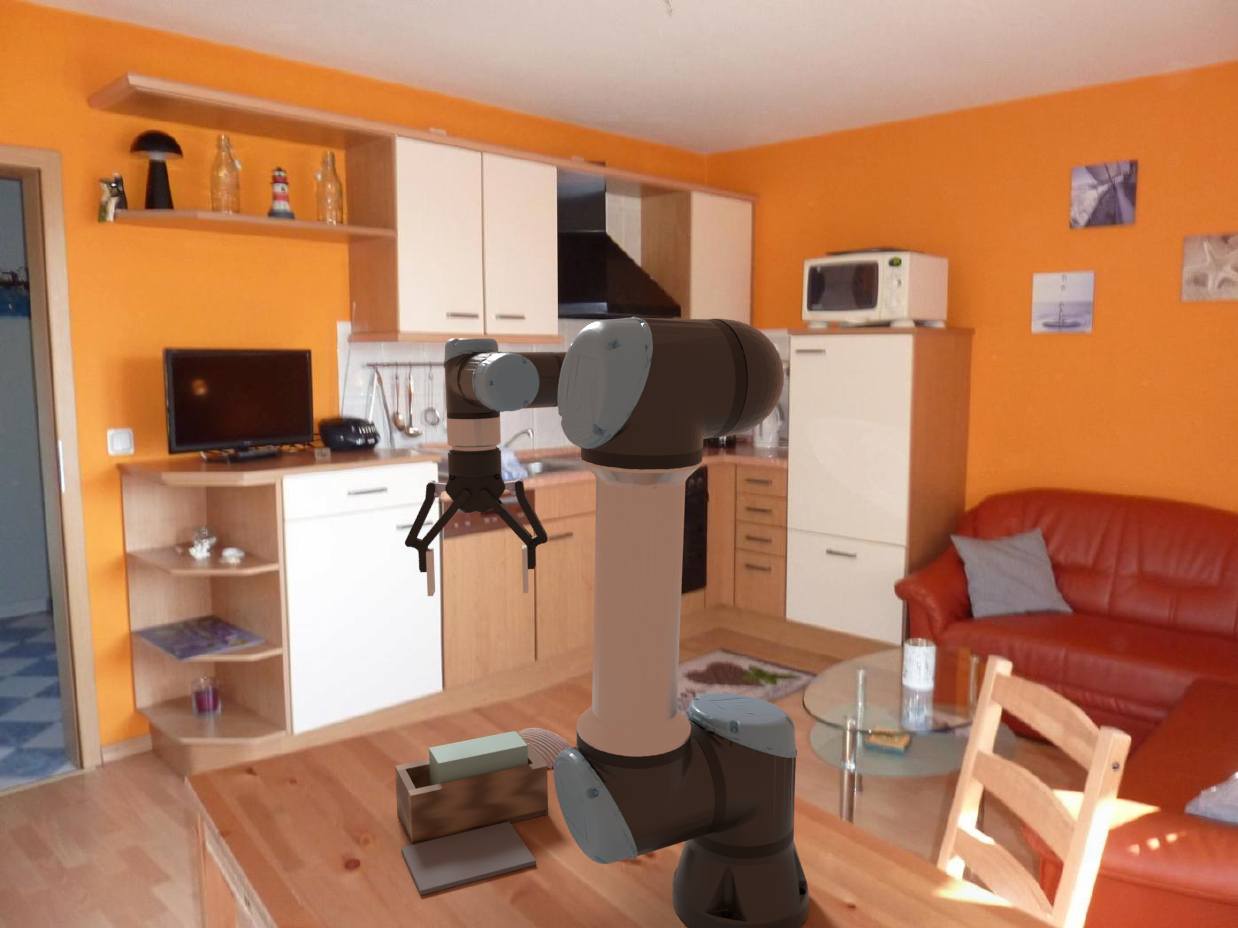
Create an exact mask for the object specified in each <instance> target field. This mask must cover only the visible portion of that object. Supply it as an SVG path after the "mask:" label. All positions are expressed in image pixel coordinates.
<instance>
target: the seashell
mask: <svg viewBox="0 0 1238 928" xmlns="http://www.w3.org/2000/svg"><path fill="white" fill-rule="evenodd" d="M516 732H517V734H518V735H519V736H520V737H521V738H522V739H523V740H525V741H526V742H527V743H528V745H529V746H530V747H531V748H532V749H533V750H534V751H535V753H536V754H537V755H538V756H539V757H540V758H541V759H542V761H543V762H544V763H545V764H546V765H547V770H548V769H549V770H552V768H553V769H554V763H555V759H556V757H557V755H558V754H559V752H561V751H563V750H565V748H566V747H573V745H571V743H570V742H568V740H567V739H565V738H564V737H562V736H561V735H559V734H557V733H555V732H553V731H551V730H548V729H544V728H541V727H530V728H523V729H521V730H519V731H516Z"/></svg>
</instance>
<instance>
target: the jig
mask: <svg viewBox="0 0 1238 928" xmlns="http://www.w3.org/2000/svg"><path fill="white" fill-rule="evenodd" d="M523 741H524V742H525V743H526V744H527V746H528V765H524V766H520V767H515V768H510V769H506V770H501V771H496V772H492V773H487V774H482V775H478V776H473V777H468V778H464V779H459V780H455V781H450V782H445V783H441V784H436V785H431V784H430V765H429V758H426V759H423V760H422V759H421V760H417V761H413V762H408V763H403V764H398V765H394V769H395V770H394V771H395V772H394V773H395V789H396V790H395V791H396V795H395V796H396V813H397V816H398V819H399V821H400V823H401V826H402V827H403V829H404V832H405V834H406V836H407V838H408V840H409V842H410V844H411V845H413V844H418V843H422V842H426V841H430V840H434V839H438V838H443V837H447V836H451V835H455V834H459V833H463V832H468V831H472V830H476V829H480V828H484V827H488V826H493V825H497V824H501V823H505V822H510V823H511V824H514V823H517V822H518V823H519V822H521V821H522V822H523V821H526V820H530V819H535V818H537V817H543V816H546V815H549V798H548V797H549V791H548V789H549V788H548V787H549V786H548V781H549V780H548V769H547V765H546V764H545V763H544V762H543V761H542V759H541V758H540V757H539V756H538V755H537V754H536V753H535V751H534V750H533V749H532V748H531V747H530V746H529V745H528V743H527V742H526V741H525V740H523Z"/></svg>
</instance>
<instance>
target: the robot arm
mask: <svg viewBox="0 0 1238 928" xmlns="http://www.w3.org/2000/svg"><path fill="white" fill-rule="evenodd" d="M498 345H499V344H498V342H497V341H496V339H494V338H487V337H485V338H484V337H482V338H481V337H478V338H475V337H472V338H471V337H470V338H465V337H464V338H450V339H448V340H447V341H446V342H445V345H444V361H443V368H444V382H445V404H446V405H445V406H446V407H445V408H446V409H445V410H446V437H447V445H448V446H449V447H451V448H450V449H448V451H447V466H448V467H447V468H448V478H447V479H448V480H447V482H446V483H445V482H437V481H436V480H429V482H428V483H427V484H426V487H425V498H424V500H423V503H422V505H421V507H420V509H419V510H418V513H417V515H416V518H415V519H414V522H413V524H412V525H411V528H410V530H409V532H408V535H407V537H406V539H405V541H404V545H405V546H406V547H407V548H413V549H415V550H416V551H417V552H418V553H417V555H418V569H419V572H420V573H426V588H427V590H426V591H427V597H433V596H434V595H435V592H436V579H435V578H436V577H435V575H436V574H435V550H434V549H435V548H434V547H430V545H431V544H432V542H433V541H434V540H435V539H436V537H437V536H438V535H440V532H442V530H443V529H444V528H445V526H446V525H447V524H448V523H449V522H450V521H451V519H452V518H453V517H454V516H455V515H456V514H457V512H458V511H462V512H464V514H471V513H474V512H478V513H487V512H490V511H491V510H493V511H494V512H495V514H496V515H497V516H499V517H500V518H501V519H502V521H503V522H504V523H506V525H507V526H508V527H509V528H510V529H511V530H512V531H513V533H514V534H515V535H516V536H517V537H518V538H519V539H520V540H521V541H522V542H523V543H524V545H521V547H522V548H521V567H522V568H521V569H522V571H521V573H522V594H529V587H530V586H529V570H535V568H536V566H537V565H536V564H537V563H536V562H537V559H536V557H537V556H536V549H537V547H538V546H539V545H542V544H546V543H547V542H548V533H547V532H546V530H545V527H544V526H543V524H542V522H541V520H540V518H539V516H538V514H537V513H536V511H535V509H534V507H533V506H532V504H531V501H530V500H529V498H528V496H527V494H526V491H525V490H526V489H525V483H524V480H523V478H517V479H516V480H511V481H504V479H503V475H502V474H503V472H502V469H503V468H502V450H501V449H500V448H499V447H498V445H500V444H501V442H502V440H501V439H502V437H501V436H502V435H501V413H504V412H515V411H520V410H522V409H523V410H524V409H526V410H527V409H540V408H541V409H542V408H544V409H545V408H556V407H557V411H558V415H559V416H560V417H561V420H560V426H561V428H562V432H563V433H564V435H565V437H566V438H567V440H568V441H569V442H570V443H571V444H572V445H575V446H577V447H579V448H580V462H582V464H583V465H584V466H585V467H586V468H587V469H588V470H589V471H590V472H591V473H592V474H593V476H594V477H595V485H596V486H595V488H596V489H595V523H594V524H595V525H594V529H595V531H594V533H595V534H594V535H595V537H594V575H593V576H594V579H593V580H594V585H593V587H594V588H593V593H594V595H593V631H592V632H593V634H592V635H593V638H592V640H593V641H592V686H591V687H592V689H591V691H592V692H591V693H592V696H591V699H592V700H591V705H590V706H589V707H587V708H586V710H584V711H583V713H582V714H580V715H579V717H578V718H577V721H576V722H577V723H576V741H575V742H576V745H575V746H574V747H573V746H572V747H566V748H565V750H563V751H561V752H559V754H558V755H557V757H556V759H555V763H554V768H553V778H554V779H553V781H554V787H555V792H556V793H555V794H556V797H557V799H558V800H557V801H558V804H559V808H560V811H561V813H562V816H563V819H564V821H565V823H566V827H567V828H568V830H569V833H570V835H571V837H572V838H573V840H574V842H575V843H576V845H577V847H578V848H579V849H580V850H581V852H582V853H583V854H584V855H585V856H586V857H587V858H588V859H590V860H591V861H592V862H595V863H597V864H600V865H610V864H613V863H617V862H621V861H625V860H631V861H634V860H636V859H637V858H638V857H640V856H643V855H645V854H649V853H652V852H655V851H659V850H661V849H664V848H665V849H666V848H668V847H671V846H675V845H678V844H681V843H684V845H683V847H682V850H681V855H680V856H679V861H678V864H677V867H676V869H675V870H674V873H673V877H672V886H671V887H672V888H671V889H672V890H671V891H672V895H671V896H672V905H673V908H674V911H675V912H676V914H677V916H678V917H679V919H680V920H681V921H682V922H683V923H685V924H686V925H687V926H688V927H689V928H801V927H802V926H803V924H804V923H805V922H806V920H807V918H808V915H809V901H810V899H809V895H810V891H809V885H808V882H807V878H806V875H805V872H804V869H803V866H802V863H801V860H800V856H799V853H798V850H797V847H796V844H795V841H794V838H795V837H794V836H795V795H796V794H795V793H796V791H795V790H796V767H797V765H796V764H797V757H798V749H797V746H796V729H795V724H794V721H793V719H792V717H790V715H789V714H788V713H787V712H786V711H785V710H784V709H782V708H781V707H779V706H778V705H775V704H773V703H771V702H769V701H766V700H763V699H760V698H759V697H758V698H756V697H755V696H754V697H753V696H749V695H744V694H738V693H728V692H727V693H726V692H713V693H704V694H701V695H698V696H696V697H694V698H693V699H692V700H691V701H690V703H689V704H688V708H687V709H686V714H687V716H686V715H685V714H684V713H683V712H682V711H681V710H679V708H678V691H679V689H678V688H679V663H680V636H681V635H680V634H681V610H682V608H681V607H682V606H681V605H682V584H683V581H682V579H683V560H684V559H683V554H684V530H685V506H686V505H685V502H686V499H685V498H686V482H687V480H688V478H689V477H690V476H691V475H692V474H693V473H695V471H697V470H698V469H699V468H700V467H701V466H702V464H703V447H704V440H705V439H717V438H726V437H731V436H732V437H733V436H736V435H739V434H742V433H746V432H748V431H750V430H751V429H754V428H756V427H758V426H759V425H760V424H762V423H763V421H765V420H766V419H767V418H768V417H769V416H770V415H771V414H772V413H773V412H774V409H775V408H776V406H778V403H779V401H780V398H781V397H782V392H783V389H784V382H785V381H784V379H785V371H784V367H783V361H782V358H781V356H780V353H779V350H778V349H777V347H776V346H775V344H774V343H773V341H771V340H770V339H769V337H768V336H766V335H765V334H764V333H763V332H762V331H761V330H759V329H758V328H756V327H754V326H752V325H751V324H747V323H745V322H742V321H740V320H734V319H728V318H707V319H706V318H705V319H704V318H652V317H651V318H650V317H648V318H647V317H646V318H645V317H637V316H632V317H623V318H613V319H611V318H610V319H601V320H597V321H593V322H592V323H590V324H588V325H587V326H585V327H583V328H582V330H580V331H579V332H578V334H576V335H575V337H574V339H573V340H572V343H571V344H570V345H569V347H568V348H567V351H515V352H514V351H499V346H498ZM505 491H509V493H510V495H511V496H513V497H516V499H517V502H518V504H519V506H520V507H521V510H522V511H523V514H524V516H525V517H526V519H527V521H528V522H529V525H530V526H531V528H532V530H533V532H534V534H535V535H532V533H531V532H530V531H529V530H528V529H527V528H526V527H525V526H524V525H523V524H522V522H520V520H519V519H518V518H517V517H516V516H515V515H514V514H513V512H511V511H510V509H509V508H508V507H507V506H506V504H505V503H504V502H503V501H502V500H501V499H500V498H501V497H502V496H503V494H504V493H505ZM443 492H445V493H446V494H447V495H448V497H449V498H450V499H451V500H452V502H451V503H450V505H449V506H448V507H447V508H446V509H445V511H444V512H443V513H442V514H441V516H440V517H439V518H438V520H436V522H435V523H434V524H433V525H432V526H431V528H430V529H429V530H428V532H427V533H426V534H425V535H424V537H423V538H418V537H419V534H420V532H421V530H422V528H423V526H424V523H425V522H426V519H427V517H428V515H429V513H430V511H431V509H432V507H433V504H434V503H435V500H436V499H437V498H439V497H441V495H442V493H443ZM687 717H688V718H687Z"/></svg>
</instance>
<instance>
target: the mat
mask: <svg viewBox="0 0 1238 928" xmlns="http://www.w3.org/2000/svg"><path fill="white" fill-rule="evenodd" d="M400 850H401V854H402V856H403V859H404V861H405V863H406V865H407V868H408V870H409V873H410V875H411V877H412V879H413V882H414V884H415V886H416V889H417V891H418V893H419V896H424V895H427V894H431V893H435V892H439V891H442V890H446V889H451V888H455V887H457V886H462V885H466V884H470V883H474V882H476V881H481V880H485V879H488V878H492V877H497V876H498V875H499V876H500V875H503V874H507V873H510V872H514V871H515V872H516V871H518V870H522V869H527V868H530V867H533V866H536V865H537V860H536V858H535V857H534V856H533V854H532V852H531V851H530V849H529V848H528V847H527V845H526V844H525V842H524V841H523V840H522V838H521V836H520V834H519V833H518V832H517V831H516V829H515V828H514V826H513V825H512V823H510V822H505V823H501V824H497V825H493V826H488V827H484V828H480V829H476V830H472V831H468V832H463V833H459V834H455V835H451V836H447V837H443V838H438V839H434V840H430V841H426V842H422V843H418V844H413V845H410V844H409V845H406V846H401V848H400Z"/></svg>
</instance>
